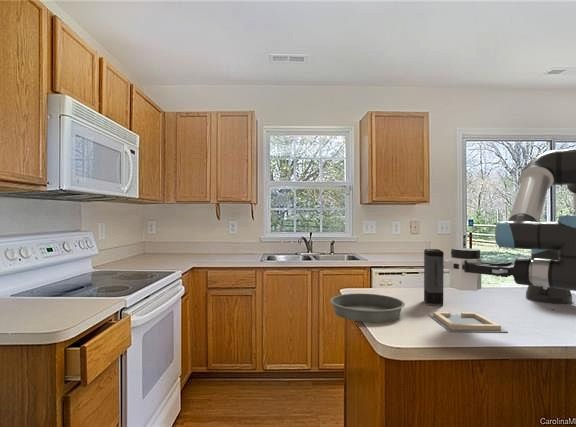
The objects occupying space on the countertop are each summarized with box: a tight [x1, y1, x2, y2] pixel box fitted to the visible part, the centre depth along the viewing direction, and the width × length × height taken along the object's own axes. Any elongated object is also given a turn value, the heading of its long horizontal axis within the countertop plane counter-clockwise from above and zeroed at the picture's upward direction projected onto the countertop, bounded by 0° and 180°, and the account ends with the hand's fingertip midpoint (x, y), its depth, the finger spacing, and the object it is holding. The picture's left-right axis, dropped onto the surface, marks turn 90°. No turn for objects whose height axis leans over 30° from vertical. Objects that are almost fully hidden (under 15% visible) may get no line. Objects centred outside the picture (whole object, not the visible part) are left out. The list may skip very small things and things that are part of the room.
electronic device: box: [423, 248, 445, 307], centre depth 145 cm, size 9×6×20 cm, turn 168°
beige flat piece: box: [428, 311, 509, 334], centre depth 118 cm, size 16×18×2 cm
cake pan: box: [329, 293, 406, 323], centre depth 129 cm, size 25×25×4 cm
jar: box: [449, 247, 482, 292], centre depth 118 cm, size 9×8×12 cm
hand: (447, 263), depth 122 cm, fingers closed on jar, 4 cm apart
